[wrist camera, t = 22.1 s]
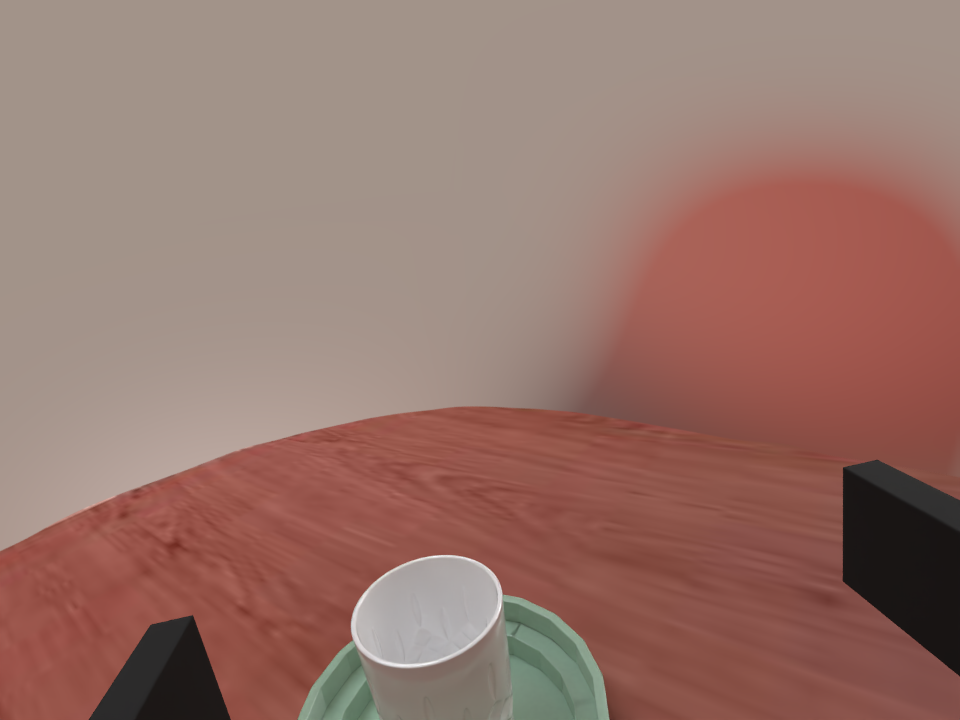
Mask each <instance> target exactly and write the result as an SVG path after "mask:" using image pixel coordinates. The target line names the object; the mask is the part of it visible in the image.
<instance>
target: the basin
mask: <svg viewBox="0 0 960 720" xmlns="http://www.w3.org/2000/svg"><path fill="white" fill-rule="evenodd" d="M503 604H504V613H505V623H506V631H507V640H508V649H509V657H510V668H511V682H512V691H513V717H514V720H610V719H609V712H608V705H607V698H606V692H605V685H604V678H603V675H602V673H601V671H600V669H599V667H598V666H597V664H596V662H595V660H594V658H593V656H592V654H591V653H590V651H589V649H588V647H587V645H586V643H585V642H584V640H583V639H582V638H581V637H580V636H579V635H578V634H577V633H576V632H574V631H573V630H572V629H571V628H570V627H569V626H568V625H567V624H566V623H565V622H564V621H562V620H561V619H560V618H559V617H558V616H557V615H556V614H554V613H552V612H550V611H548V610H546V609H544V608H542V607H540V606H537V605H535V604H533V603H531V602H529V601H527V600H525V599H522V598H518V597H513V596H507V595H503ZM297 720H380V718H379V715H378V713H377V710H376V707H375V704H374V701H373V698H372V695H371V692H370V689H369V686H368V683H367V680H366V677H365V674H364V670H363V667H362V664H361V661H360V658H359V655H358V652H357V649H356V646H355V643H354V640H353V641H351V642H350V643H349V644H348V645H347V646H345V647H344V648H343V649H342V650H341V651H340V652H339V653H338V654H337V655H336V657H335V658H334V659H333V660H332V662H331V663H330V664H329V666H328V667H327V668H326V669H325V671H324V672H323V673H322V674H321V676H320V677H319V678H318V680H317V681H316V682H315V683H314V685H313V686H312V688H311V690H310V692H309V694H308V697H307V699H306V701H305V703H304V706H303V708H302V710H301V713H300V715H299V717H298V719H297Z"/></svg>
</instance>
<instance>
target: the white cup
mask: <svg viewBox="0 0 960 720" xmlns="http://www.w3.org/2000/svg"><path fill="white" fill-rule="evenodd" d="M351 633H352V637H353V640H354V643H355V646H356V649H357V652H358V655H359V658H360V661H361V664H362V667H363V670H364V674H365V677H366V680H367V683H368V686H369V689H370V692H371V695H372V698H373V701H374V704H375V707H376V710H377V713H378V715H379V718H380V720H514V717H513V691H512V682H511V668H510V657H509V649H508V640H507V631H506V623H505V613H504V604H503V594H502V588H501V585H500V583H499V581H498V579H497V577H496V576H495V574H494V573H493V572H492V571H491V570H490V569H489V568H487V567H486V566H485V565H483V564H481V563H480V562H478V561H475V560H473V559H470V558H466V557H462V556H454V555H437V556H430V557H424V558H420V559H416V560H413V561H410V562H407V563H405V564H403V565H400V566H398V567H396V568H394V569H392V570H391V571H389V572H387V573H386V574H384V575H383V576H381V577H380V578H379V579H378V580H376V581H375V582H374V583H373V584H372V585H371V586H370V587H369V588H368V589H367V590H366V591H365V592H364V594H363V595H362V596H361V598H360V599H359V601H358V603H357V605H356V607H355V609H354V612H353V615H352V620H351Z"/></svg>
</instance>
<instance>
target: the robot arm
mask: <svg viewBox="0 0 960 720" xmlns="http://www.w3.org/2000/svg"><path fill="white" fill-rule="evenodd" d="M843 582H845V583H846V584H847V585H848V586H849V587H851V588H852V589H853V590H854V591H856V592H857V593H858V594H859V595H860V596H862V597H863V598H864V599H865V600H867V601H868V602H869V603H870V604H872V605H873V606H874V607H875V608H876V609H878V610H879V611H880V612H881V613H883V614H884V615H885V616H886V617H888V618H889V619H890V620H891V621H892V622H894V623H895V624H896V625H897V626H899V627H900V628H901V629H902V630H904V631H905V632H906V633H907V634H908V635H910V636H911V637H912V638H913V639H915V640H916V641H917V642H918V643H920V644H921V645H922V646H923V647H924V648H926V649H927V650H928V651H929V652H931V653H932V654H933V655H934V656H936V657H937V658H938V659H939V660H940V661H942V662H943V663H944V664H945V665H947V666H948V667H949V668H950V669H952V670H953V671H954V672H955V673H956V674H958V675H959V676H960V500H958V499H956V498H954V497H952V496H950V495H948V494H946V493H944V492H942V491H940V490H938V489H935V488H933V487H931V486H929V485H927V484H925V483H923V482H921V481H919V480H917V479H915V478H913V477H911V476H909V475H907V474H905V473H903V472H901V471H899V470H897V469H895V468H893V467H891V466H889V465H887V464H885V463H882V462H881V461H879V460H875V461H870V462H865V463H861V464H857V465H852V466H848V467H843ZM89 720H231V719H230V716H229V714H228V711H227V708H226V705H225V703H224V700H223V697H222V694H221V692H220V689H219V686H218V683H217V680H216V678H215V675H214V672H213V669H212V667H211V664H210V661H209V658H208V656H207V653H206V650H205V647H204V645H203V642H202V639H201V636H200V634H199V631H198V628H197V625H196V623H195V620H194V617H193V615H192V616H188V617H183V618H179V619H174V620H170V621H166V622H161V623H157V624H152V625H150V627H149V628H148V630H147V631H146V633H145V634H144V636H143V637H142V639H141V640H140V642H139V644H138V645H137V647H136V648H135V650H134V651H133V653H132V654H131V656H130V657H129V659H128V660H127V662H126V663H125V665H124V667H123V668H122V670H121V671H120V673H119V674H118V676H117V677H116V679H115V680H114V682H113V683H112V685H111V686H110V688H109V690H108V691H107V693H106V694H105V696H104V697H103V699H102V700H101V702H100V703H99V705H98V706H97V708H96V709H95V711H94V712H93V714H92V716H91V717H90V719H89Z"/></svg>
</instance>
